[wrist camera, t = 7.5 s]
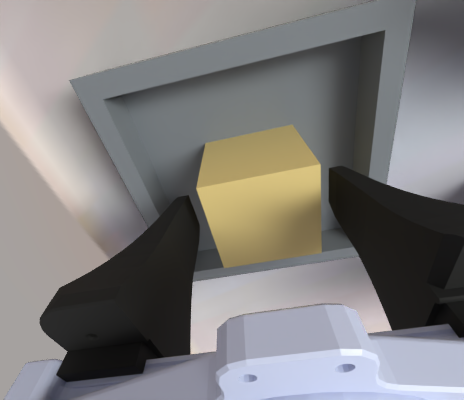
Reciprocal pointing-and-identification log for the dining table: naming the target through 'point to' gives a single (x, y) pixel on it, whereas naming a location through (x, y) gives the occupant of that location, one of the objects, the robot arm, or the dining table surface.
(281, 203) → the mustard block
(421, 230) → the robot arm
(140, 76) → the tray
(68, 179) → the dining table surface
